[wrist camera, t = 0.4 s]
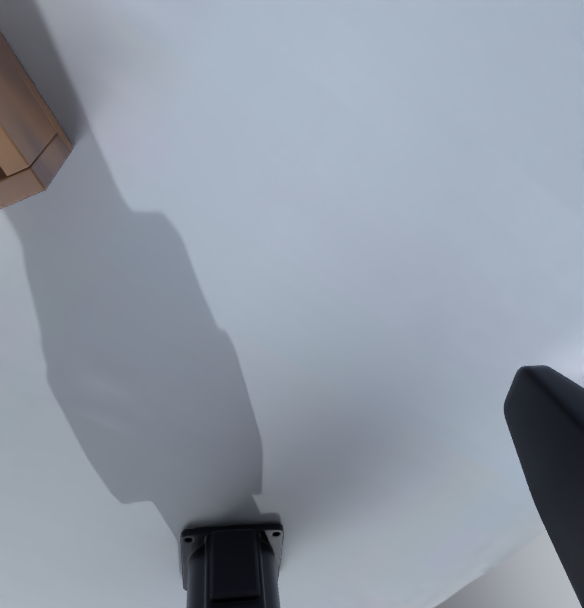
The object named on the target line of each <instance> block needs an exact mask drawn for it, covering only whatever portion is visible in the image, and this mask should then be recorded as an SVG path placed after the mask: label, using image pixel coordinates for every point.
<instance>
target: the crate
mask: <svg viewBox="0 0 584 608" xmlns="http://www.w3.org/2000/svg"><path fill="white" fill-rule="evenodd" d="M72 150H73V146H72V144H71V143H70V141H69V139H68V138H67V136H66V135H65V133H64V131H63V130H62V128H61V127H60V125H59V123H58V122H57V120H56V119H55V117H54V116H53V114H52V112H51V111H50V109H49V108H48V106H47V104H46V103H45V101H44V100H43V98H42V97H41V95H40V93H39V92H38V90H37V89H36V87H35V85H34V84H33V82H32V81H31V79H30V77H29V76H28V74H27V73H26V71H25V70H24V68H23V66H22V65H21V63H20V62H19V60H18V58H17V57H16V55H15V54H14V52H13V51H12V49H11V47H10V46H9V44H8V43H7V41H6V39H5V38H4V36H3V35H2V33H1V31H0V209H2V208H5V207H7V206H9V205H12V204H14V203H16V202H19V201H21V200H23V199H26V198H28V197H30V196H33V195H35V194H37V193H40V192H42V191H45V190H46V189H47V187H48V186H49V184H50V183H51V181H52V180H53V178H54V177H55V175H56V174H57V172H58V171H59V169H60V168H61V166H62V165H63V163H64V162H65V160H66V159H67V157H68V156H69V154H70V153H71V151H72Z"/></svg>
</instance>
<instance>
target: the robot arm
mask: <svg viewBox="0 0 584 608" xmlns="http://www.w3.org/2000/svg"><path fill="white" fill-rule="evenodd" d="M504 415H505V419H506V422H507V425H508V428H509V431H510V434H511V437H512V440H513V443H514V446H515V448H516V451H517V454H518V457H519V460H520V463H521V466H522V469H523V472H524V475H525V478H526V481H527V484H528V487H529V490H530V492H531V495H532V498H533V500H534V503H535V505H536V508H537V510H538V512H539V515H540V517H541V519H542V521H543V524H544V526H545V528H546V530H547V532H548V535H549V537H550V539H551V541H552V543H553V545H554V548H555V550H556V552H557V554H558V556H559V558H560V561H561V563H562V565H563V567H564V569H565V571H566V574H567V576H568V578H569V580H570V582H571V585H572V587H573V588H574V591H575V593H576V595H577V598H578V600H579V602H580V604H581V606H582V608H584V388H583V387H581V386H579V385H578V384H576V383H575V382H573V381H571V380H570V379H568V378H567V377H565V376H563V375H562V374H560V373H558V372H557V371H555V370H554V369H552V368H550V367H548V366H544V365H538V366H523V367H521V368H520V369H519V370H518V371H517V372H516V375H515V377H514V380H513V382H512V385H511V387H510V389H509V392H508V394H507V397H506V399H505V403H504ZM283 536H284V531H283V526H282V525H280V524H266V525H250V526H234V527H219V528H203V529H188V530H184V531H183V532H182V533H181V539H180V542H181V558H182V575H183V588H184V590H186V591H187V608H280V601H279V591H278V577H279V569H280V561H281V552H282V544H283Z"/></svg>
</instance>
